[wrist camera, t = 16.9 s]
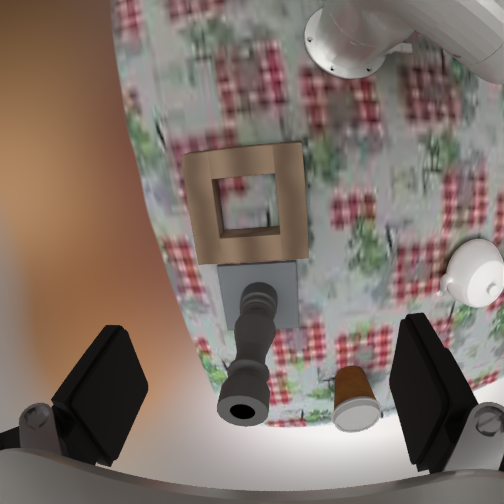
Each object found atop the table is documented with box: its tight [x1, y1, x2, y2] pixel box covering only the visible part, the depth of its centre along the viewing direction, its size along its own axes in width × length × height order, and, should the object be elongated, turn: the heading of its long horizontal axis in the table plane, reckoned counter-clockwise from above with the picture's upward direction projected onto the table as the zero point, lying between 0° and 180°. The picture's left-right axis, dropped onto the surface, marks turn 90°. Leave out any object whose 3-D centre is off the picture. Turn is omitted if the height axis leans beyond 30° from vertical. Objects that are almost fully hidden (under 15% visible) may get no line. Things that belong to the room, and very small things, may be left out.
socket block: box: [181, 141, 309, 265], centre depth 47 cm, size 17×17×4 cm
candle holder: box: [217, 282, 278, 427], centre depth 43 cm, size 6×6×25 cm
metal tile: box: [217, 260, 299, 330], centre depth 55 cm, size 13×13×1 cm
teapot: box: [437, 239, 504, 308], centre depth 45 cm, size 20×12×10 cm, turn 99°
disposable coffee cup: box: [332, 366, 381, 432], centre depth 56 cm, size 10×10×12 cm
